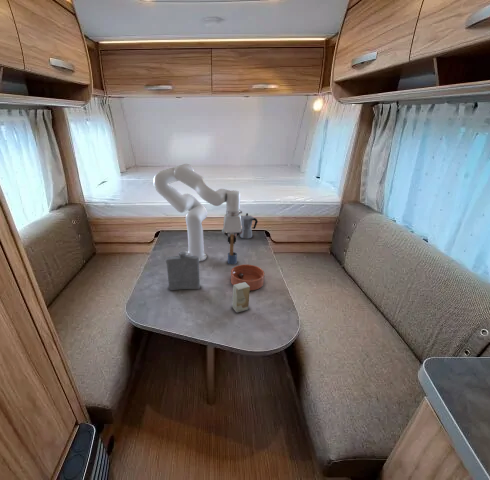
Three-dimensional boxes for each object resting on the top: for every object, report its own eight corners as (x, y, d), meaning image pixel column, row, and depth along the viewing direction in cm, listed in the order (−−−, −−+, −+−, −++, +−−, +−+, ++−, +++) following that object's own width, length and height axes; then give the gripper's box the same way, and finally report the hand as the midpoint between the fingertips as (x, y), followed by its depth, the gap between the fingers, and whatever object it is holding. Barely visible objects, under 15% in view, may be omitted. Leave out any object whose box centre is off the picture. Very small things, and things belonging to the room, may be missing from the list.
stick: (229, 259, 160) (230, 234, 153) (229, 257, 161) (230, 233, 155) (232, 259, 160) (233, 234, 153) (232, 257, 161) (233, 233, 155)
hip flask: (168, 290, 136) (165, 255, 128) (169, 285, 139) (166, 251, 131) (199, 289, 136) (198, 254, 128) (199, 284, 140) (198, 250, 132)
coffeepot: (235, 236, 200) (235, 213, 193) (242, 232, 207) (242, 210, 200) (253, 241, 191) (254, 217, 184) (259, 237, 198) (261, 213, 191)
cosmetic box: (236, 313, 118) (237, 289, 113) (232, 307, 122) (232, 284, 117) (249, 309, 120) (250, 286, 116) (244, 303, 124) (245, 281, 119)
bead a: (238, 279, 142) (238, 274, 141) (237, 276, 145) (237, 272, 144) (243, 279, 142) (244, 274, 141) (243, 276, 145) (243, 272, 144)
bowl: (232, 291, 133) (232, 281, 131) (229, 274, 149) (229, 264, 147) (266, 291, 133) (267, 280, 131) (260, 273, 149) (260, 264, 147)
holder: (228, 265, 159) (228, 256, 157) (227, 260, 164) (227, 252, 162) (237, 264, 159) (237, 255, 157) (236, 260, 164) (236, 251, 162)
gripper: (246, 211, 153) (244, 240, 160) (218, 211, 152) (218, 240, 160) (247, 215, 146) (246, 245, 153) (218, 215, 146) (218, 245, 153)
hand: (231, 242), depth 156 cm, fingers closed on stick, 2 cm apart
